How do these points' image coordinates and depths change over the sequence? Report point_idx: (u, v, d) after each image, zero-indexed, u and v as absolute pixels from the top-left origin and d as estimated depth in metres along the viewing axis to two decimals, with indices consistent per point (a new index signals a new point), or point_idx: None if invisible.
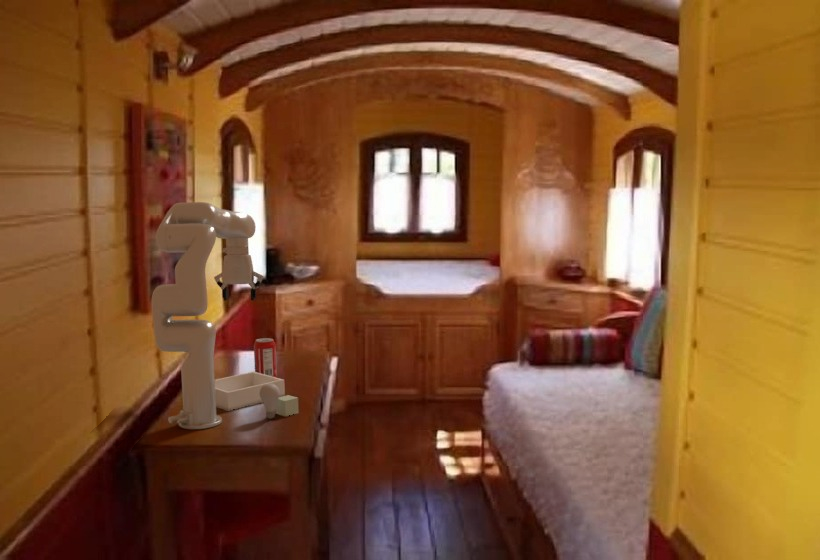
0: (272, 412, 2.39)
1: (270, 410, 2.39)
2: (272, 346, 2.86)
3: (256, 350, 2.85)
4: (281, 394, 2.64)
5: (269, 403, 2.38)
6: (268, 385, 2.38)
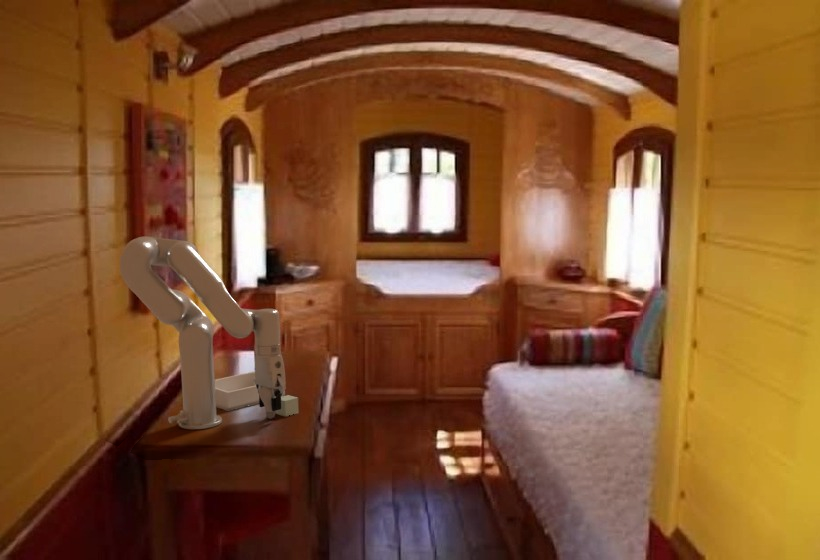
0: (272, 412, 2.39)
1: (270, 410, 2.39)
2: None
3: None
4: None
5: (269, 403, 2.38)
6: None
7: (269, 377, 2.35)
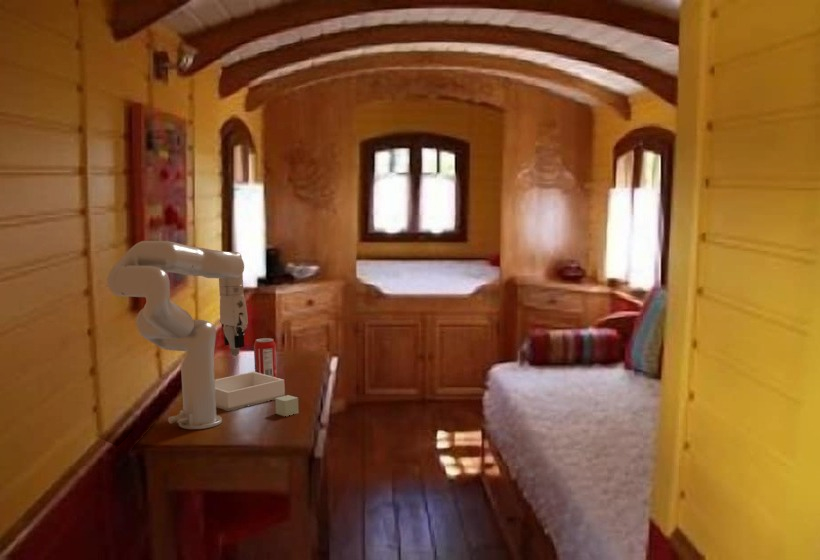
0: (236, 349, 2.54)
1: (234, 347, 2.53)
2: (272, 346, 2.86)
3: (256, 350, 2.85)
4: (281, 394, 2.64)
5: (233, 341, 2.53)
6: None
7: (232, 316, 2.49)
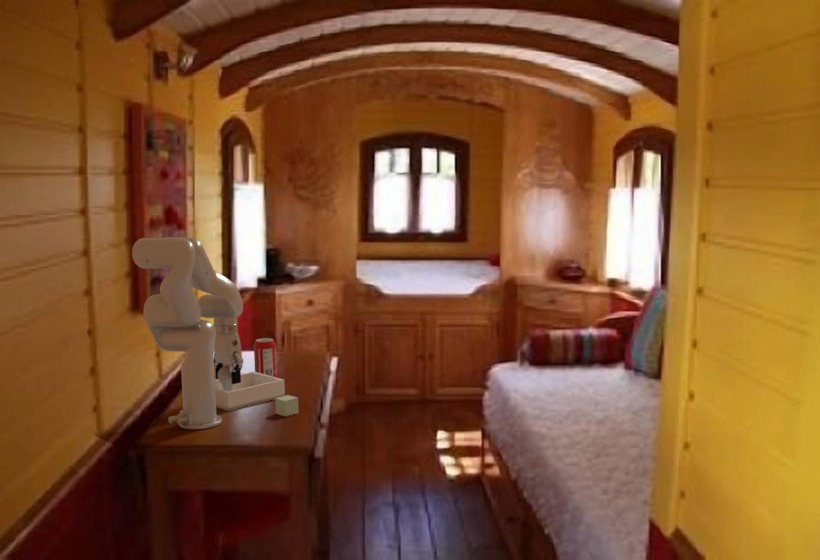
0: None
1: (227, 390, 2.59)
2: (272, 346, 2.86)
3: (256, 350, 2.85)
4: (281, 394, 2.64)
5: (226, 384, 2.58)
6: (226, 367, 2.59)
7: (226, 354, 2.54)
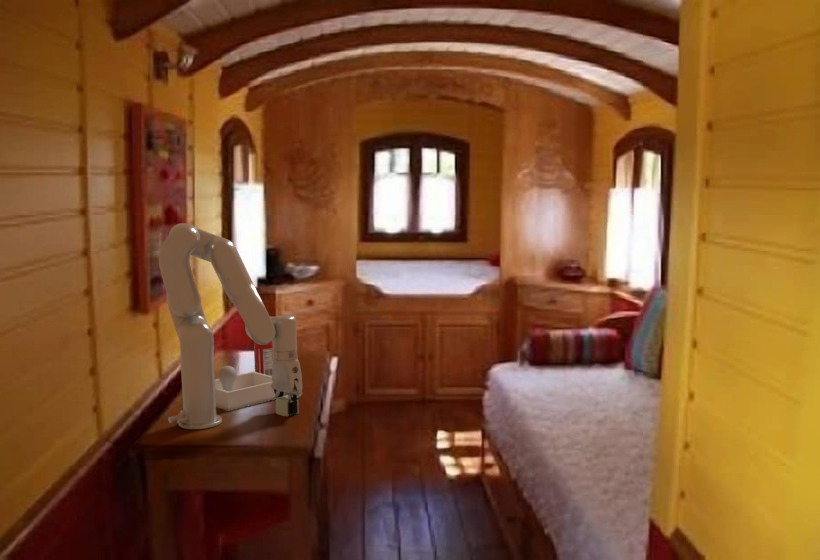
0: None
1: (227, 390, 2.59)
2: (272, 346, 2.86)
3: (256, 350, 2.85)
4: None
5: (227, 384, 2.58)
6: (226, 367, 2.59)
7: (286, 382, 2.41)
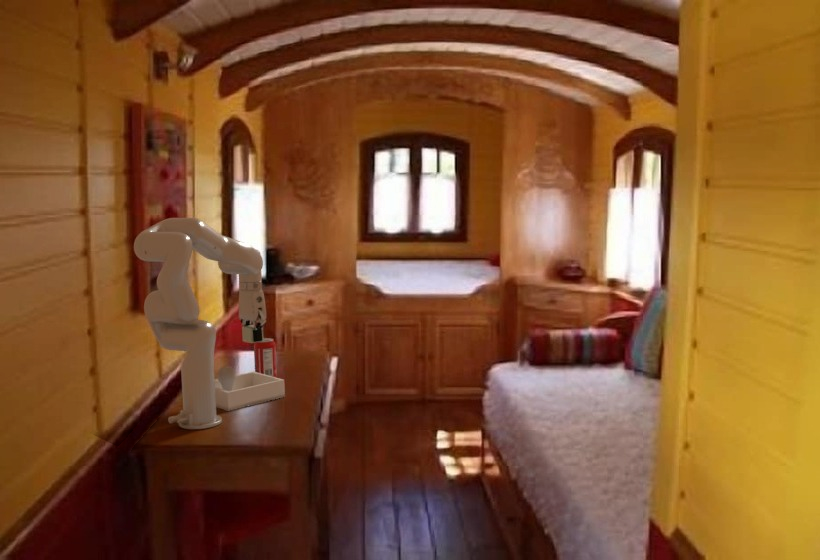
0: None
1: (227, 390, 2.59)
2: (272, 346, 2.86)
3: (256, 350, 2.85)
4: (281, 394, 2.64)
5: (226, 384, 2.58)
6: (225, 367, 2.59)
7: (251, 310, 2.60)
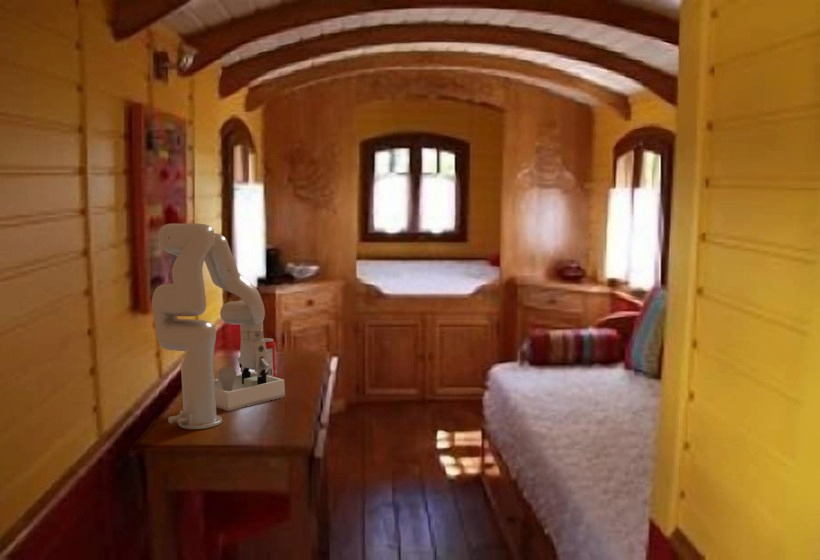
0: None
1: (227, 390, 2.59)
2: (272, 346, 2.86)
3: None
4: (281, 394, 2.64)
5: (226, 384, 2.58)
6: (225, 367, 2.59)
7: (253, 360, 2.62)
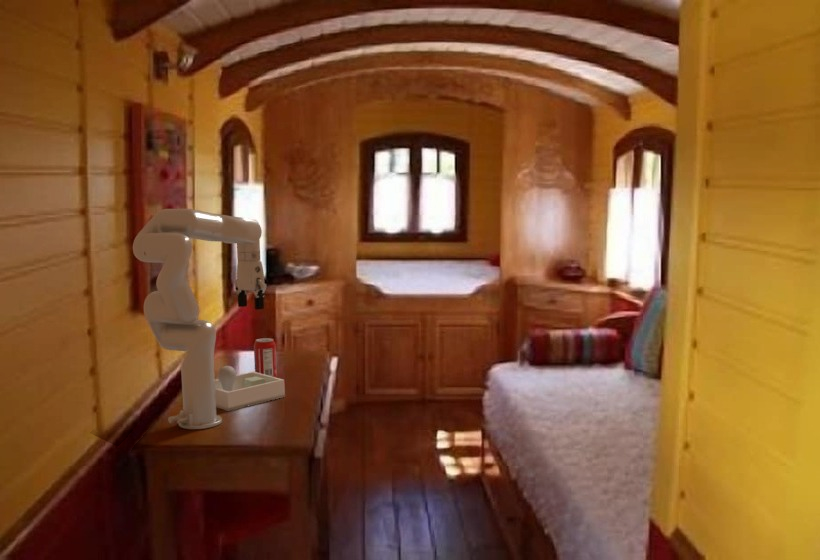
0: None
1: (227, 390, 2.59)
2: (272, 346, 2.86)
3: (256, 350, 2.85)
4: (281, 394, 2.64)
5: (226, 384, 2.58)
6: (225, 367, 2.59)
7: (249, 280, 2.59)
